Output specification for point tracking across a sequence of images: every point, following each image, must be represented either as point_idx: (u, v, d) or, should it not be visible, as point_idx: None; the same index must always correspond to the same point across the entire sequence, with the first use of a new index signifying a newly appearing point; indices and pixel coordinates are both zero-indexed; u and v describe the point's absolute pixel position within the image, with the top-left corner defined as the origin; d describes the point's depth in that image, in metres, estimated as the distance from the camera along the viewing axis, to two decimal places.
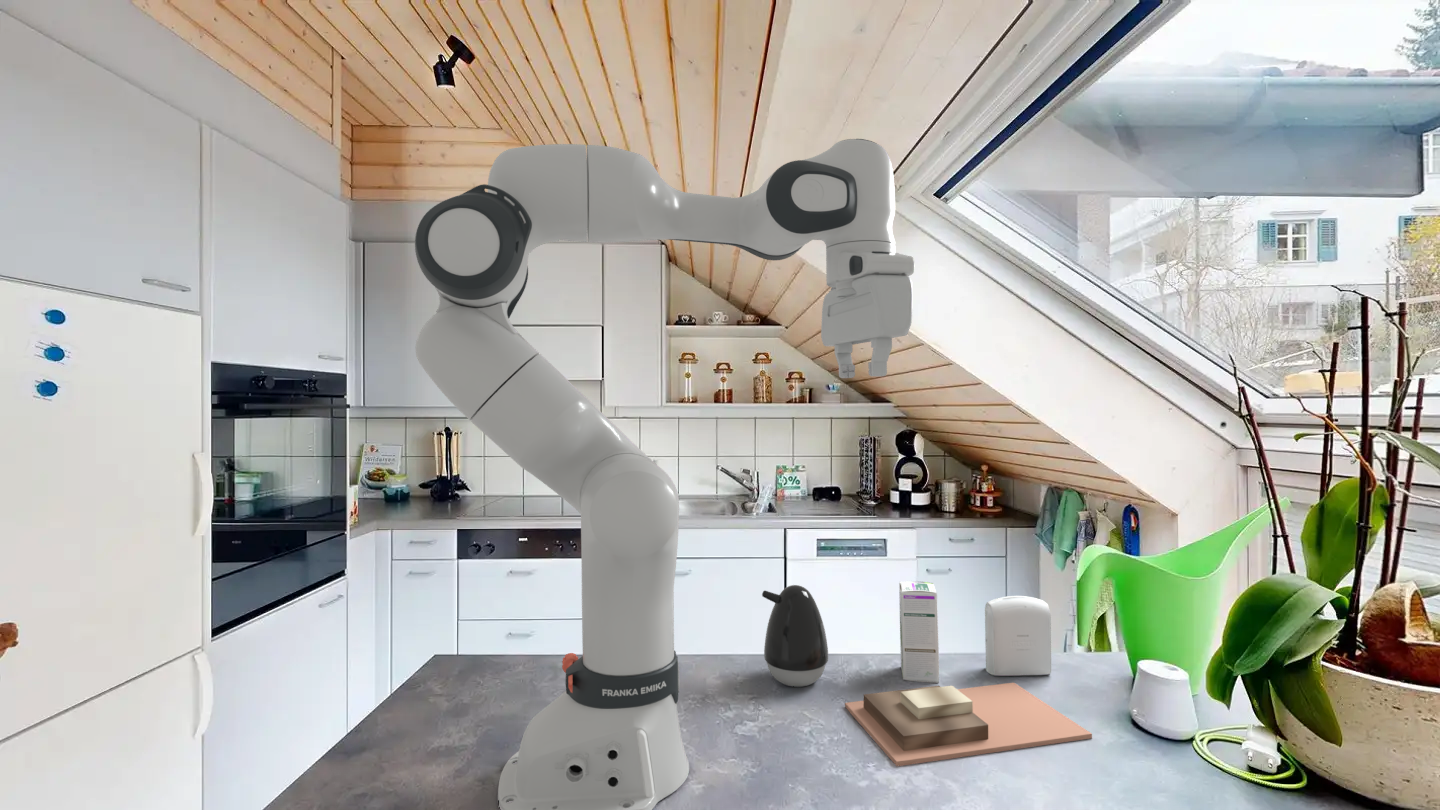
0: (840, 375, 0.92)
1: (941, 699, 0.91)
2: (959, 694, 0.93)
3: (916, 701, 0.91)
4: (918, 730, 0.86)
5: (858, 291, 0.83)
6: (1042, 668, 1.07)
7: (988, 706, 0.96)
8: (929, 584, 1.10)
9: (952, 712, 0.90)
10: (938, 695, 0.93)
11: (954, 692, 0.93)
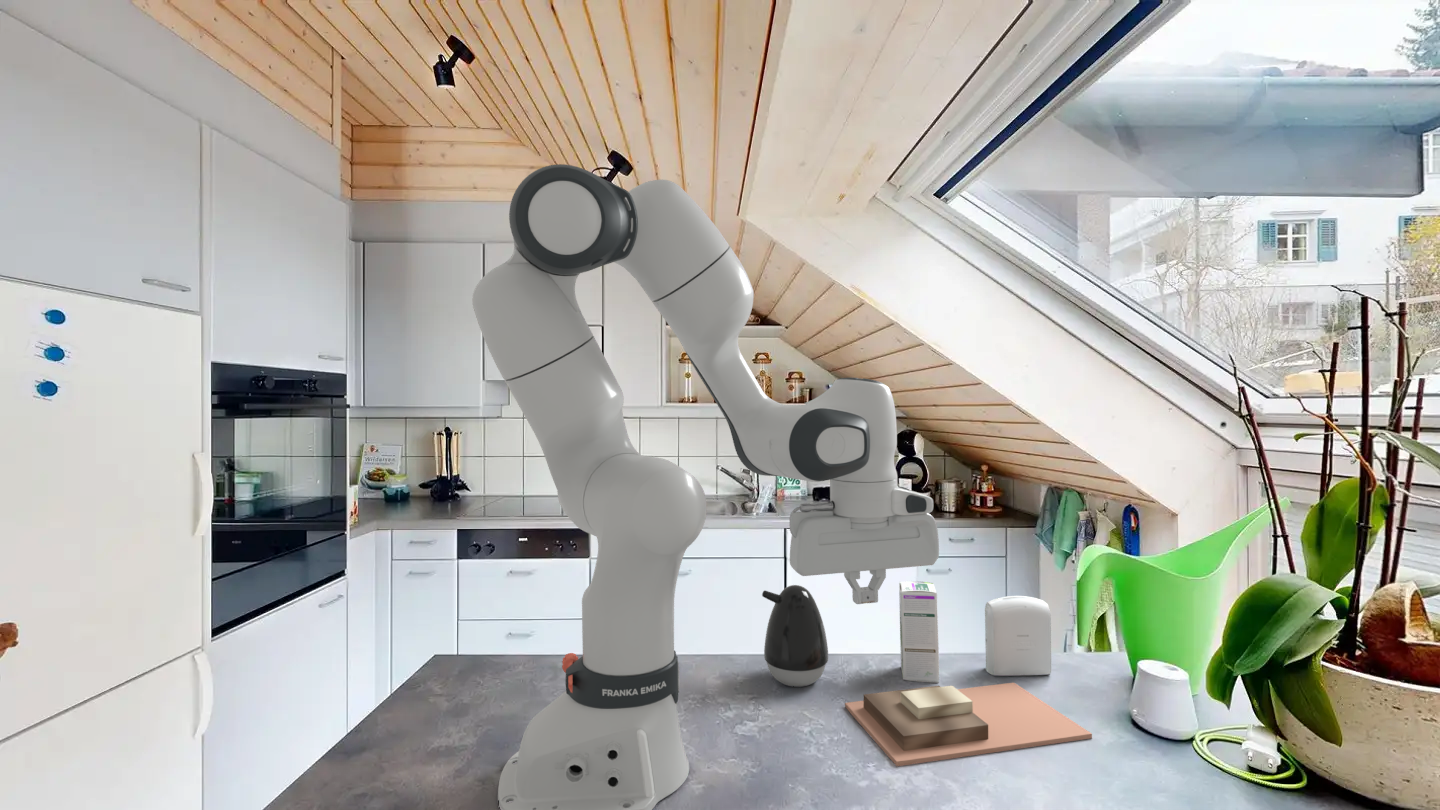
0: (861, 601, 0.89)
1: (941, 699, 0.91)
2: (959, 694, 0.93)
3: (916, 701, 0.91)
4: (918, 730, 0.86)
5: (897, 524, 0.88)
6: (1042, 668, 1.07)
7: (988, 706, 0.96)
8: (929, 584, 1.10)
9: (952, 712, 0.90)
10: (938, 695, 0.93)
11: (954, 692, 0.93)
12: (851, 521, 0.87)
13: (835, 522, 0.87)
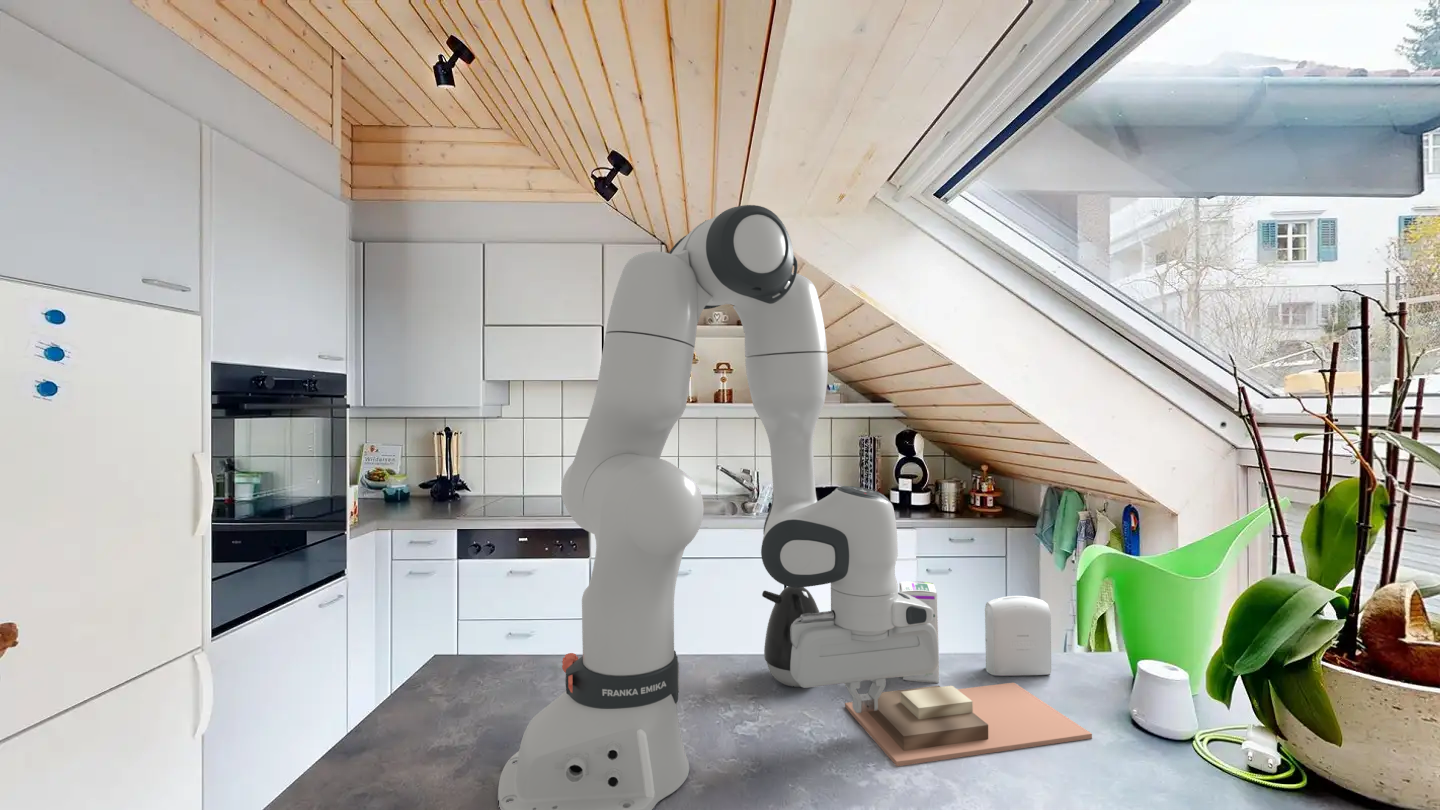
0: (861, 711, 0.89)
1: (941, 699, 0.91)
2: (959, 694, 0.93)
3: (916, 701, 0.91)
4: (918, 730, 0.86)
5: (897, 635, 0.89)
6: (1042, 668, 1.07)
7: (988, 706, 0.96)
8: (929, 584, 1.10)
9: (952, 712, 0.90)
10: (938, 695, 0.93)
11: (954, 692, 0.93)
12: (852, 632, 0.88)
13: (836, 634, 0.87)
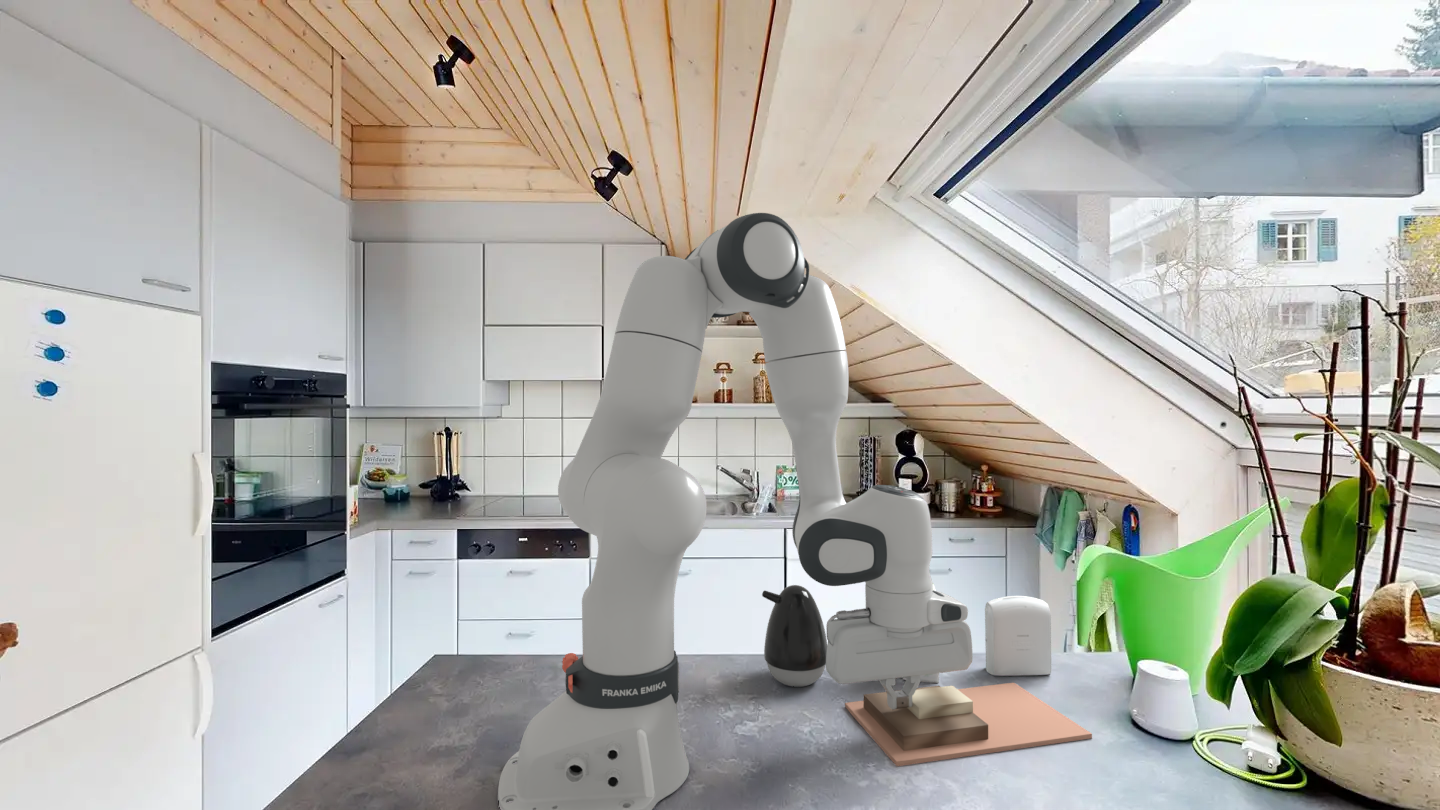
0: (897, 707, 0.90)
1: (941, 699, 0.91)
2: (960, 694, 0.93)
3: (917, 701, 0.91)
4: (918, 730, 0.86)
5: (932, 632, 0.90)
6: (1042, 668, 1.07)
7: (988, 706, 0.96)
8: None
9: (952, 712, 0.90)
10: (939, 695, 0.93)
11: (955, 692, 0.93)
12: (887, 629, 0.88)
13: (872, 631, 0.88)
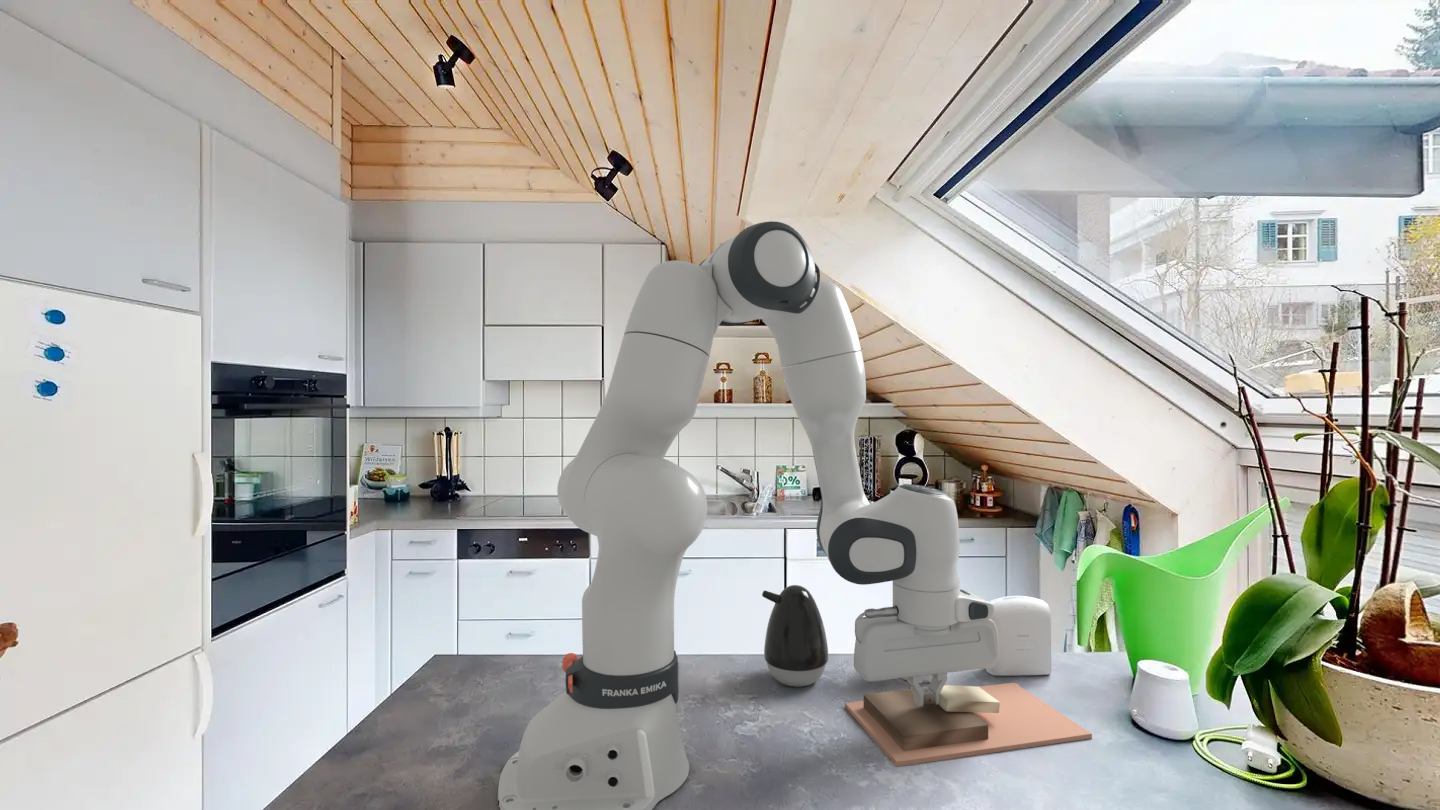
0: (923, 704, 0.91)
1: (969, 696, 0.92)
2: (986, 694, 0.94)
3: (945, 694, 0.92)
4: (918, 730, 0.86)
5: (959, 630, 0.91)
6: (1042, 668, 1.07)
7: None
8: None
9: (979, 710, 0.91)
10: (966, 692, 0.94)
11: (981, 692, 0.94)
12: (915, 627, 0.89)
13: (900, 629, 0.89)
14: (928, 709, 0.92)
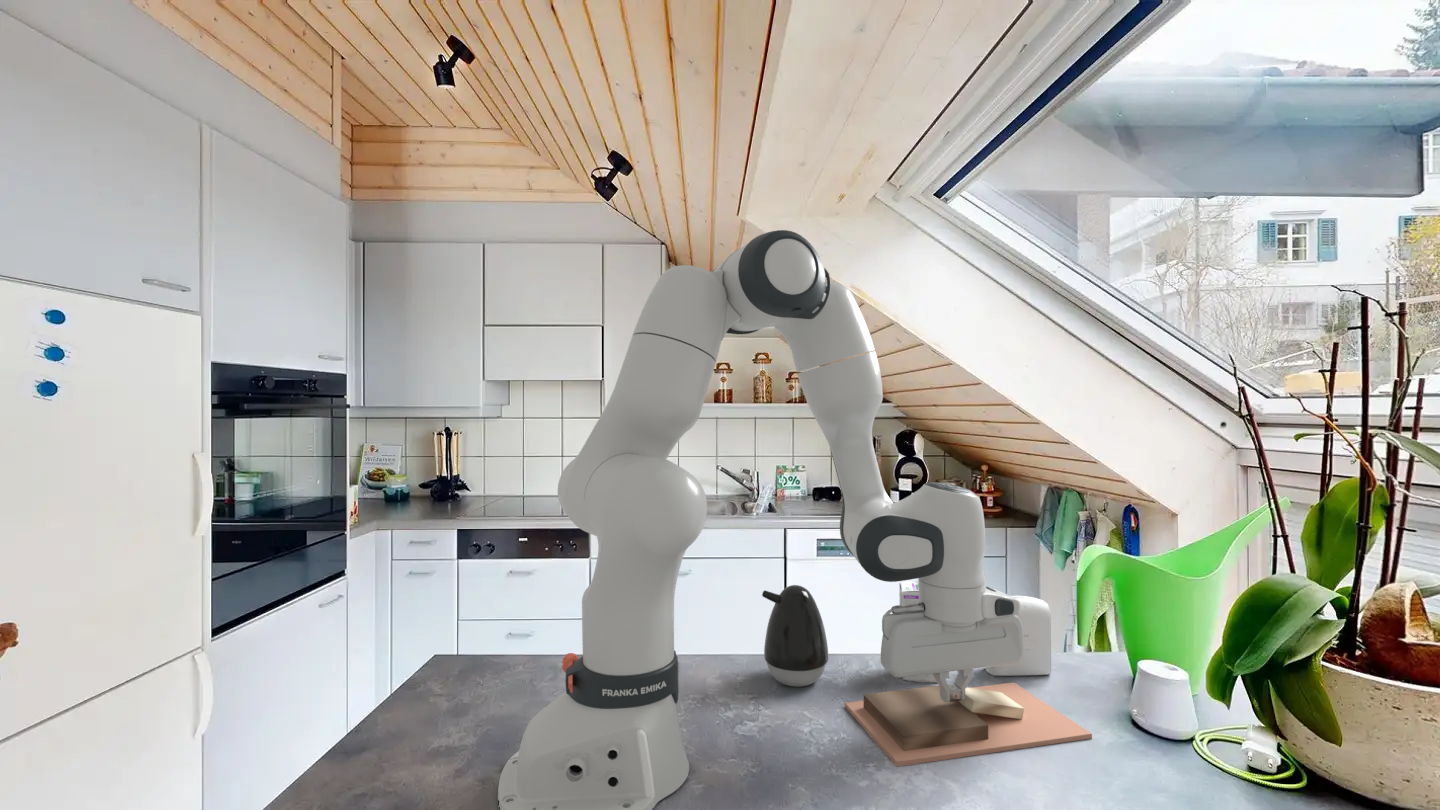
0: (950, 700, 0.92)
1: (994, 700, 0.93)
2: (1010, 700, 0.95)
3: (971, 695, 0.93)
4: (918, 730, 0.86)
5: (985, 626, 0.91)
6: (1042, 668, 1.07)
7: None
8: None
9: (1003, 714, 0.92)
10: (991, 696, 0.94)
11: (1005, 698, 0.95)
12: (942, 624, 0.90)
13: (927, 625, 0.90)
14: (928, 709, 0.92)
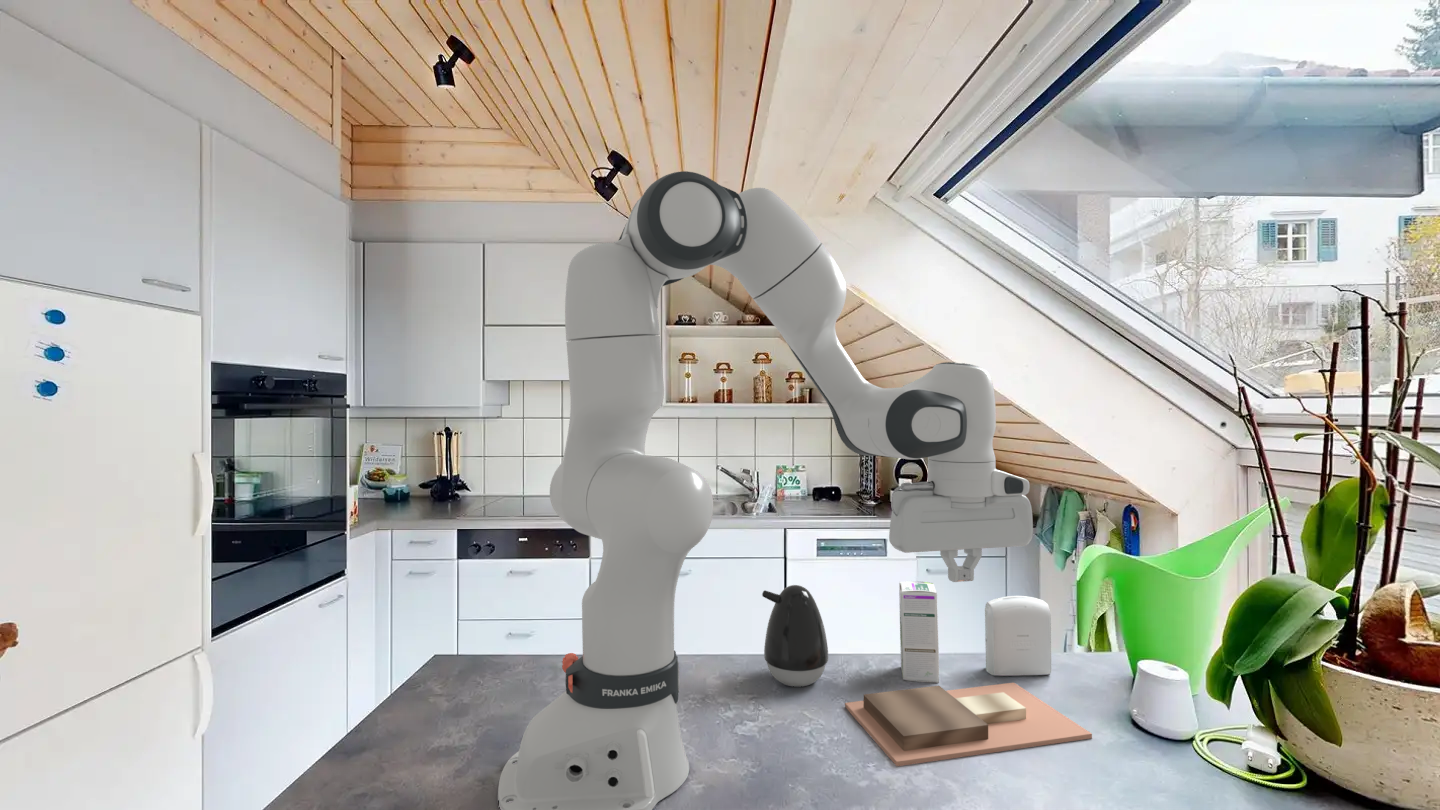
0: (958, 579, 0.92)
1: (995, 706, 0.93)
2: (1012, 700, 0.95)
3: (971, 708, 0.93)
4: (918, 730, 0.86)
5: (995, 505, 0.91)
6: (1042, 668, 1.07)
7: None
8: (929, 584, 1.10)
9: (1006, 719, 0.92)
10: (992, 701, 0.95)
11: (1007, 699, 0.95)
12: (951, 501, 0.90)
13: (936, 501, 0.90)
14: (928, 709, 0.92)
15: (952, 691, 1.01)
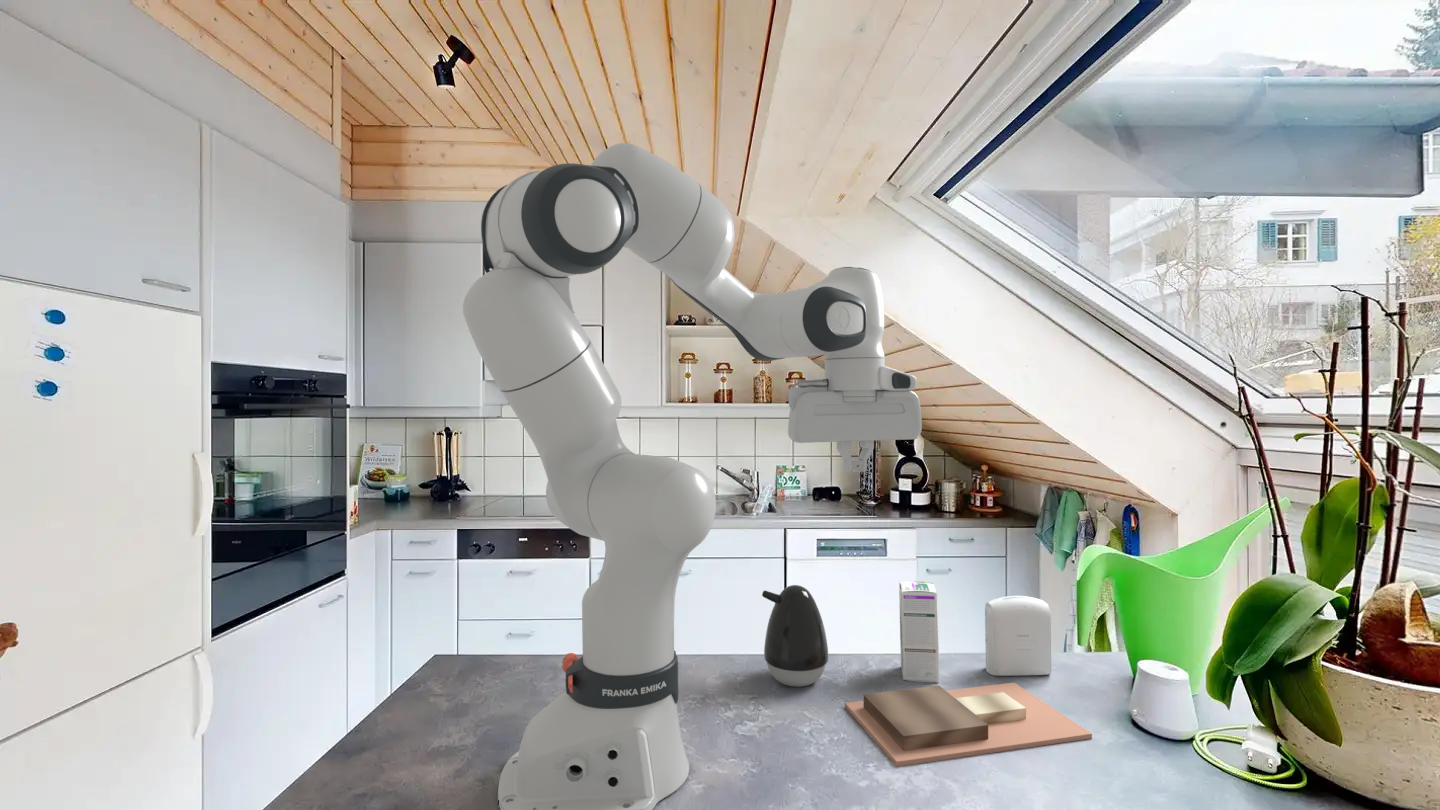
0: (852, 469, 0.99)
1: (995, 706, 0.93)
2: (1012, 700, 0.95)
3: (971, 708, 0.93)
4: (918, 730, 0.86)
5: (884, 400, 0.99)
6: (1042, 668, 1.07)
7: None
8: (929, 584, 1.09)
9: (1006, 719, 0.92)
10: (992, 701, 0.95)
11: (1007, 699, 0.95)
12: (843, 395, 0.98)
13: (829, 395, 0.97)
14: (928, 709, 0.92)
15: (952, 691, 1.01)
